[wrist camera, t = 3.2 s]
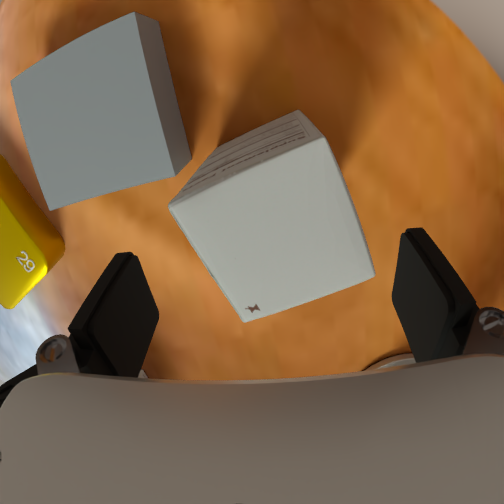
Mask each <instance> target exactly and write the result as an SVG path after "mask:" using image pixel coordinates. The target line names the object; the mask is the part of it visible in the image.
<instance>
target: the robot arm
mask: <svg viewBox="0 0 504 504" xmlns="http://www.w3.org/2000/svg"><path fill="white" fill-rule="evenodd" d="M392 302H393V305H394V307H395V310H396V312H397V315H398V317H399V319H400V322H401V324H402V327H403V330H404V332H405V335H406V337H407V340H408V343H409V345H410V348H411V351H412V353H408V354H401V355H396V356H393V357H389V358H387V359H384V360H382V361H380V362H378V363H376V364H374V365H372V366H370V367H369V368H367V369H366V370H365V371H359V372H351V373H343V374H333V375H323V376H312V377H299V378H284V379H264V380H168V379H149V378H138V376H139V373H140V370H141V367H142V364H143V362H144V359H145V356H146V353H147V350H148V347H149V345H150V342H151V339H152V336H153V334H154V331H155V328H156V325H157V323H158V320H159V311H158V308H157V306H156V303H155V301H154V298H153V296H152V293H151V291H150V288H149V285H148V283H147V280H146V277H145V275H144V272H143V269H142V267H141V264H140V261H139V259H138V257H137V256H136V255H134V254H133V253H132V252H124V253H117V254H116V255H115V256H114V257H113V259H112V260H111V262H110V263H109V264H108V266H107V267H106V269H105V270H104V272H103V273H102V275H101V276H100V278H99V279H98V281H97V282H96V284H95V285H94V287H93V288H92V290H91V292H90V293H89V295H88V296H87V298H86V299H85V301H84V303H83V304H82V306H81V307H80V309H79V311H78V312H77V314H76V315H75V317H74V319H73V320H72V322H71V324H70V325H69V327H68V330H69V332H70V333H71V334H70V336H69V338H68V337H67V336H65V335H61V334H60V335H54V336H52V337H50V338H48V339H47V340H45V341H44V342H43V343H42V344H41V345H40V347H39V348H38V350H37V353H36V364H35V365H34V366H32V367H30V368H29V369H27V370H25V371H24V372H22V373H20V374H19V375H17V376H15V377H14V378H12V379H10V380H9V381H7V382H5V383H4V384H2V385H1V386H0V504H504V311H502V310H500V309H498V308H494V307H485V308H481V309H479V308H478V306H477V305H476V301H475V299H474V298H473V296H472V295H471V293H470V292H469V290H468V289H467V287H466V286H465V284H464V283H463V281H462V280H461V278H460V277H459V275H458V274H457V273H456V271H455V270H454V268H453V267H452V266H451V264H450V263H449V261H448V260H447V259H446V257H445V256H444V255H443V253H442V252H441V251H440V249H439V248H438V247H437V245H436V244H435V243H434V242H433V240H432V239H431V238H430V236H429V235H428V234H427V233H426V231H425V230H424V229H423V228H408V229H406V231H405V233H402V234H401V238H400V246H399V253H398V260H397V267H396V273H395V279H394V285H393V291H392Z"/></svg>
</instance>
